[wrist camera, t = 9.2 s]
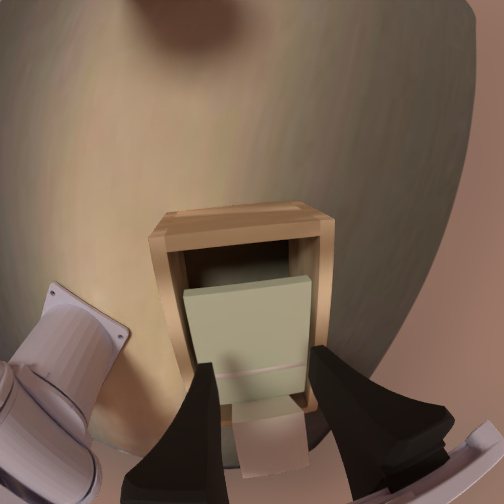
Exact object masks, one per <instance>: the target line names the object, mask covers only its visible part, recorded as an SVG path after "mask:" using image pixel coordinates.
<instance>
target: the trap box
mask: <svg viewBox="0 0 504 504" xmlns="http://www.w3.org/2000/svg"><path fill="white" fill-rule="evenodd" d="M334 230H335V219H333V218H331V217H330V216H328V215H326V214H324V213H322V212H320V211H318V210H316V209H314V208H312V207H310V206H309V205H307V204H305V203H303V202H301V201H299V200H293V201H279V202H266V203H254V204H243V205H232V206H222V207H212V208H203V209H194V210H186V211H177V212H169V213H166V214H165V216H164V217H163V218H162V220H161V221H160V222H159V224H158V225H157V226H156V228H155V229H154V231H153V232H152V233H151V235H150V236H149V238H148V241H149V247H150V252H151V257H152V263H153V268H154V272H155V277H156V282H157V286H158V291H159V295H160V300H161V304H162V308H163V312H164V316H165V320H166V324H167V328H168V331H169V335H170V339H171V342H172V346H173V349H174V353H175V356H176V360H177V363H178V366H179V369H180V373H181V376H182V379H183V382H184V385H185V388H186V391H187V392H188V390H189V388H190V385H191V382H192V380H193V377H194V374H195V370H196V366H197V365H198V362H197V358H196V353H195V349H194V345H193V341H192V336H191V332H190V327H189V323H188V318H187V313H186V309H185V304H184V299H183V294H184V290H187V289H189V283H188V277H187V271H186V265H185V259H184V252H183V250H191V249H200V248H209V247H218V246H228V245H237V244H246V243H256V242H265V241H275V240H284V239H288V242H289V277H296V276H303V275H307V276H308V277H309V278H310V280H311V281H312V286H311V309H310V327H309V342H308V356H307V368H306V379H305V389H304V392H299V393H294V394H289V396H290V397H291V398H292V399H293V401H294V402H295V403H296V404H297V405H298V406H299V407H300V408H301V409H302V410H303V411H304V413H308V412H312V411H316V410H317V406H318V402H317V400H316V398H315V396H314V394H313V391H312V388H311V385H310V382H309V379H308V371H309V360H310V348H311V347H313V346H318V345H324V346H325V347H326V344H327V335H328V325H329V315H330V304H331V291H332V276H333V258H334ZM220 409H221V427H226V426H232V404H224V405H220Z"/></svg>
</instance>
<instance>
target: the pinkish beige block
mask: <svg viewBox="0 0 504 504" xmlns="http://www.w3.org/2000/svg"><path fill="white" fill-rule="evenodd" d="M232 427H233V432H234V437H235V443H236V448H237V453H238V458H239V463H240V468H241V473H242V478H243V479H244V478H252V477H259V476H266V475H272V474H278V473H283V472H288V471H293V470H297V469H302V468H306V467H310V463H309V453H308V444H307V436H306V427H305V419H304V411H303V410H302V409H301V408H300V407H299V406H298V405H297V404H296V403H295V402H294V401H293V399H292V398H291V397H290V396H289V395H284V396H279V397H274V398H268V399H262V400H255V401H248V402H241V403H233V404H232Z"/></svg>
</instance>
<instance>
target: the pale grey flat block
mask: <svg viewBox="0 0 504 504" xmlns="http://www.w3.org/2000/svg"><path fill="white" fill-rule="evenodd" d="M311 286H312V281H311V280H310V278H309V277H308V276H307V275H303V276H296V277H288V278H281V279H273V280H265V281H257V282H249V283H241V284H232V285H224V286H215V287H206V288H196V289H187V290H184V294H183V299H184V304H185V309H186V313H187V318H188V323H189V327H190V332H191V336H192V341H193V345H194V349H195V353H196V358H197V362H198V364H199V363H208V362H212V364H213V369H214V373H215V378H216V383H217V387H218V392H219V400H220V405H224V404H233V403H241V402H248V401H255V400H262V399H268V398H274V397H279V396H284V395H289V394H294V393H299V392H304V389H305V379H306V368H307V356H308V342H309V327H310V309H311Z"/></svg>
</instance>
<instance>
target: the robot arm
mask: <svg viewBox="0 0 504 504" xmlns="http://www.w3.org/2000/svg"><path fill="white" fill-rule="evenodd" d="M52 291H54V293H55V294H54V293H53V292H52ZM120 335H122V336H123V337H121V336H120ZM128 335H129V330H128V328H126V327H125V326H123V325H121V324H120V323H118V322H116V321H115V320H113V319H111V318H110V317H108V316H106V315H105V314H103V313H101V312H100V311H98V310H97V309H95V308H93V307H92V306H90V305H89V304H87V303H86V302H84V301H83V300H81V299H80V298H78V297H77V296H75V295H74V294H72V293H71V292H69V291H68V290H66V289H65V288H64V287H62V286H61V285H59V284H58V283H56V282H52V283H51V284H50V286H49V290H48V293H47V297H46V301H45V304H44V308H43V312H42V316H41V320H40V321H39V322H38V324H37V325H36V326H35V327H34V329H33V330H32V331H31V333H30V334H29V335H28V336H27V338H26V339H25V340H24V342H23V343H22V344H21V346H20V347H19V348H18V350H17V351H16V353H15V354H14V355H13V357H12V358H11V360H10V361H9V363H6V362H5V361H0V504H91V503H92V502H93V501H94V500H95V498H96V497H97V495H98V493H99V491H100V487H101V484H102V468H101V464H100V461H99V459H98V457H97V456H96V455H95V453H94V452H93V451H92V450H90V449H91V444H92V441H93V437H92V436H91V435H90V434H89V432H88V430H87V428H88V425H89V422H90V418H91V415H92V412H93V409H94V405H95V402H96V399H97V396H98V393H99V390H100V388H101V386H102V384H103V382H104V380H105V378H106V376H107V374H108V372H109V371H110V369H111V367H112V365H113V363H114V361H115V359H116V357H117V355H118V354H119V352H120V350H121V348H122V346H123V344H124V343H125V341H126V339H127V337H128ZM308 379H309V382H310V385H311V388H312V391H313V394H314V396H315V398H316V400H317V402H318V404H319V406H320V408H321V410H322V412H323V414H324V416H325V418H326V420H327V422H328V424H329V426H330V428H331V430H332V432H333V435H334V438H335V440H336V443H337V446H338V449H339V452H340V455H341V458H342V461H343V464H344V467H345V471H346V474H347V478H348V482H349V485H350V490H351V494H352V498H353V502H350V503H348V504H385V503H387V502H389V501H391V500H392V501H391V502H389V503H387V504H448V503H450V502H451V501H452V500H454V499H455V498H456V497H458V496H459V495H460V494H462V493H463V492H464V491H466V490H467V489H468V488H469V487H470V486H472V485H473V484H474V483H475V482H476V481H478V480H479V479H480V478H481V477H482V476H483V475H484V474H485V473H486V472H488V471H489V470H490V469H491V468H492V467H493V466H494V465H495V464H496V463H497V462H498V461H499V460H500V459H501V458H502V457H503V456H504V438H503V437H502V435H501V434H500V433H499V432H498V431H497V430H496V428H495V427H494V426H493V425H492V423H491V422H490V421H489V420H486V421H485V422H484V423H483V424H481V425H480V426H479V427H478V428H476V429H475V430H474V431H473V432H472V433H471V434H470V435H469V436H468V437H467V439H466V440H465V441H464V442H463V443H462V444H460V445H459V446H457V447H456V448H455V449H453V450H452V451H450V452H449V453H447V452H446V451H445V449H444V448H443V447H444V446H445V442H444V441H443V438H444V437H445V436H446V434H447V433H448V432H449V431H450V429H451V428H452V426H453V425H454V422H455V419H454V417H453V416H452V415H451V413H450V412H449V411H448V410H447V409H446V408H445V407H444V406H440V405H435V404H429V403H424V402H421V401H417V400H414V399H410V398H408V397H405V396H402V395H400V394H397V393H395V392H392V391H390V390H388V389H386V388H384V387H382V386H380V385H378V384H376V383H374V382H372V381H371V380H369V379H368V378H366V377H365V376H363V375H361V374H360V373H359V372H357V371H356V370H354V369H353V368H352V367H350V366H349V365H348V364H346V363H345V362H344V361H342V360H341V359H340V358H339V357H338V356H336V355H335V354H334V353H333V352H331V351H330V350H329V349H328V348H327V347H325V346H324V345H318V346H313V347H311V348H310V360H309V371H308ZM120 503H121V504H229V500H228V494H227V488H226V482H225V476H224V469H223V462H222V454H221V409H220V400H219V392H218V387H217V383H216V378H215V373H214V369H213V364H212V362H208V363H199V364H198V365H197V366H196V370H195V374H194V377H193V380H192V382H191V385H190V388H189V390H188V392H187V395H186V397H185V399H184V401H183V403H182V405H181V407H180V409H179V411H178V413H177V415H176V417H175V418H174V420H173V422H172V423H171V425H170V426H169V428H168V429H167V431H166V432H165V434H164V435H163V436H162V438H161V439H160V440H159V442H158V443H157V444H156V445H155V446H154V448H153V449H152V450H151V451H150V452H149V453H148V454H147V455H146V456H145V457H144V458H143V459H142V460H141V461H140V462H139V463H138V464H137V465H136V466H135V467H134V468H132V469H131V470H130V471H129V472H128V473H127V474H126V475H125V477H124V481H123V484H122V488H121V499H120Z"/></svg>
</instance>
